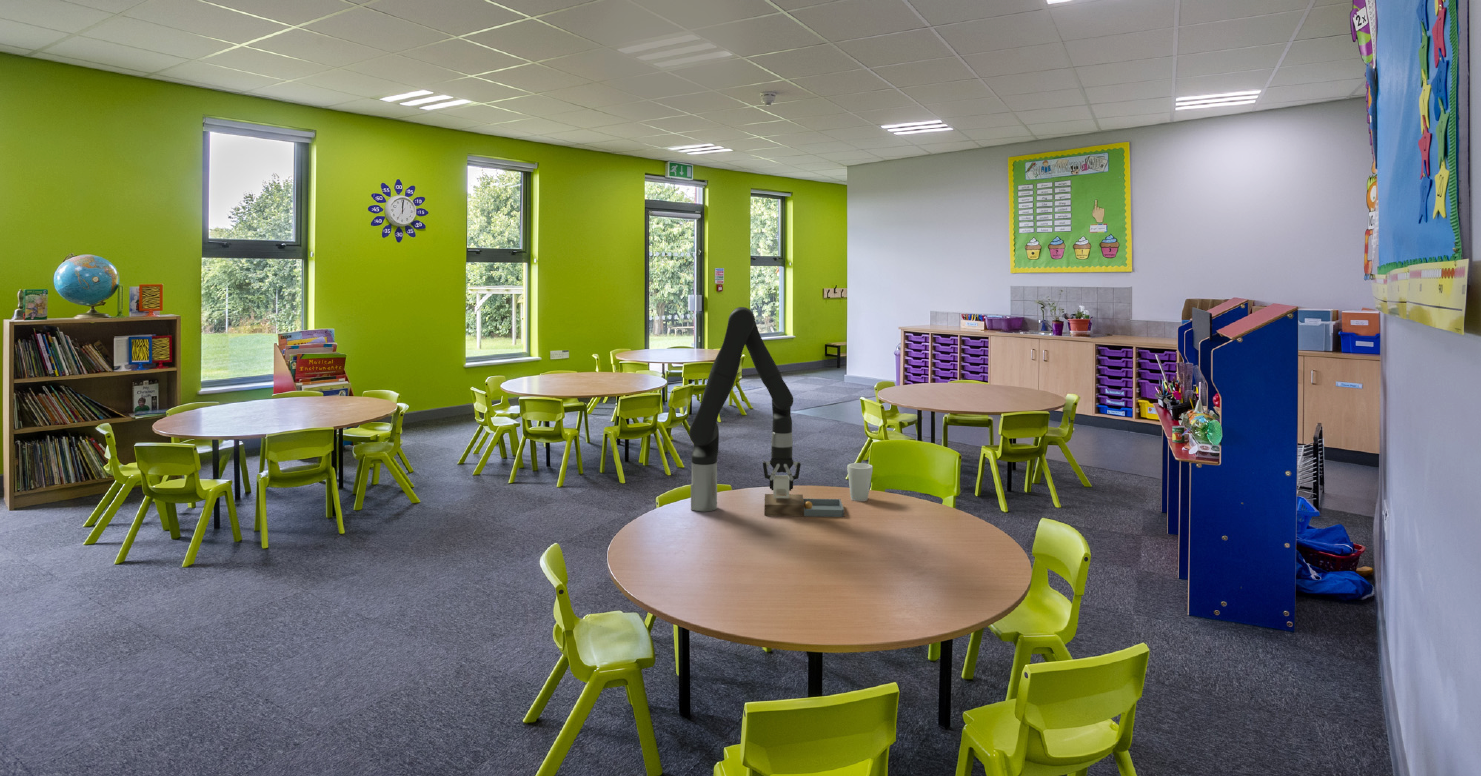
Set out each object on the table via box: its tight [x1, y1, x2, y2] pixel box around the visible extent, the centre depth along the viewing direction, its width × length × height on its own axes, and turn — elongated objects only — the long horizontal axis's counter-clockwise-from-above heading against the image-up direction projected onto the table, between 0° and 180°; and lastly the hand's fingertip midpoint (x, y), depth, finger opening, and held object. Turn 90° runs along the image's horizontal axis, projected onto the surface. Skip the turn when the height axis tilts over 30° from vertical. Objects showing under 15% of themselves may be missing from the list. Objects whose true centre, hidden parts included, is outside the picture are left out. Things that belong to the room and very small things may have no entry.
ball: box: [804, 501, 812, 509], centre depth 281 cm, size 3×3×3 cm
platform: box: [763, 493, 805, 517], centre depth 282 cm, size 14×14×4 cm
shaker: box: [772, 474, 790, 498], centre depth 281 cm, size 6×6×7 cm
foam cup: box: [846, 462, 874, 502], centre depth 296 cm, size 10×9×13 cm
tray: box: [803, 498, 845, 518], centre depth 281 cm, size 14×14×2 cm
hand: (781, 489), depth 281 cm, fingers open, 5 cm apart
